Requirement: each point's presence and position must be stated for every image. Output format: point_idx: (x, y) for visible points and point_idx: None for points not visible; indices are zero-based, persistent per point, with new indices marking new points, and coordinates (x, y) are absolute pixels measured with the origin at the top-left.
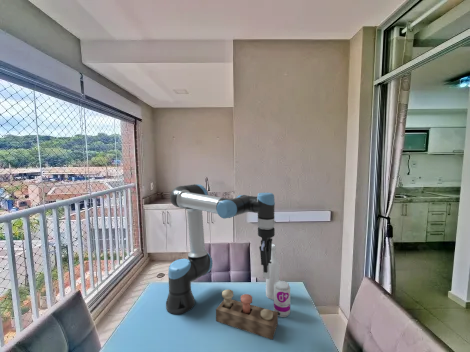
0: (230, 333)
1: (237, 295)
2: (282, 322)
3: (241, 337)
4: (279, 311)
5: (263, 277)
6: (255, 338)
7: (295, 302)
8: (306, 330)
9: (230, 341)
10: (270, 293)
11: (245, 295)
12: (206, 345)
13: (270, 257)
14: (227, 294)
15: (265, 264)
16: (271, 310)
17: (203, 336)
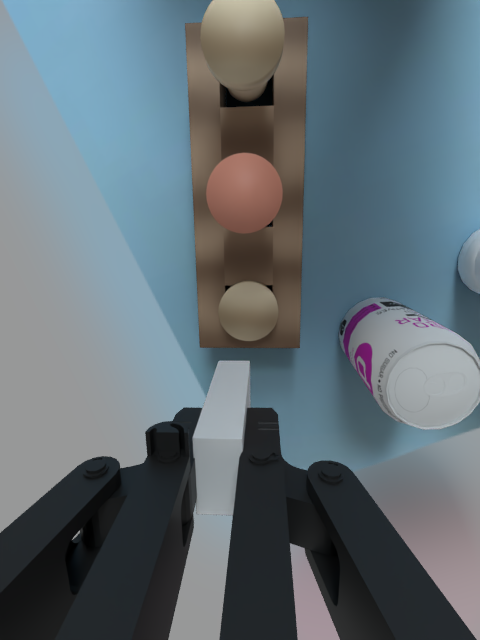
0: (163, 165)
1: (439, 60)
2: (311, 345)
3: (165, 218)
4: (343, 336)
5: (218, 367)
6: (186, 271)
7: None
8: (303, 431)
9: (127, 185)
10: (475, 260)
11: (262, 178)
12: (64, 100)
13: (325, 577)
14: (221, 46)
15: (83, 532)
16: (299, 318)
17: (93, 56)
